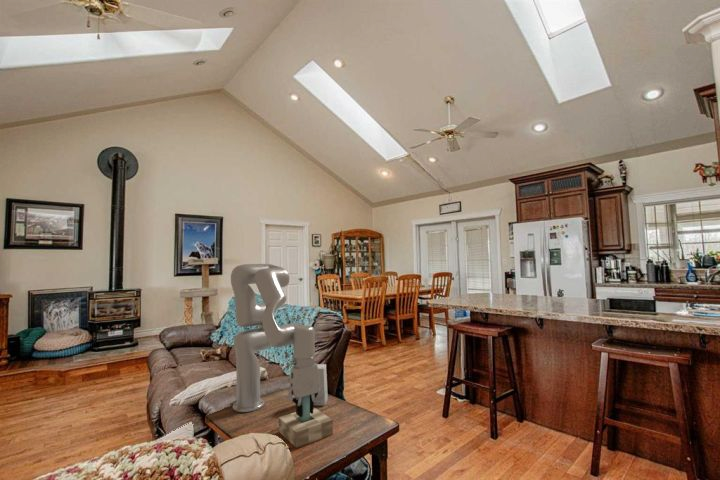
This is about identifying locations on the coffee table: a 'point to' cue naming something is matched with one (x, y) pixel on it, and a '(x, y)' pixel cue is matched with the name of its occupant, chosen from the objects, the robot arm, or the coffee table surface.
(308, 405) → the peg
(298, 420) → the socket block
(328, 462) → the coffee table surface
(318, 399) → the skincare box
